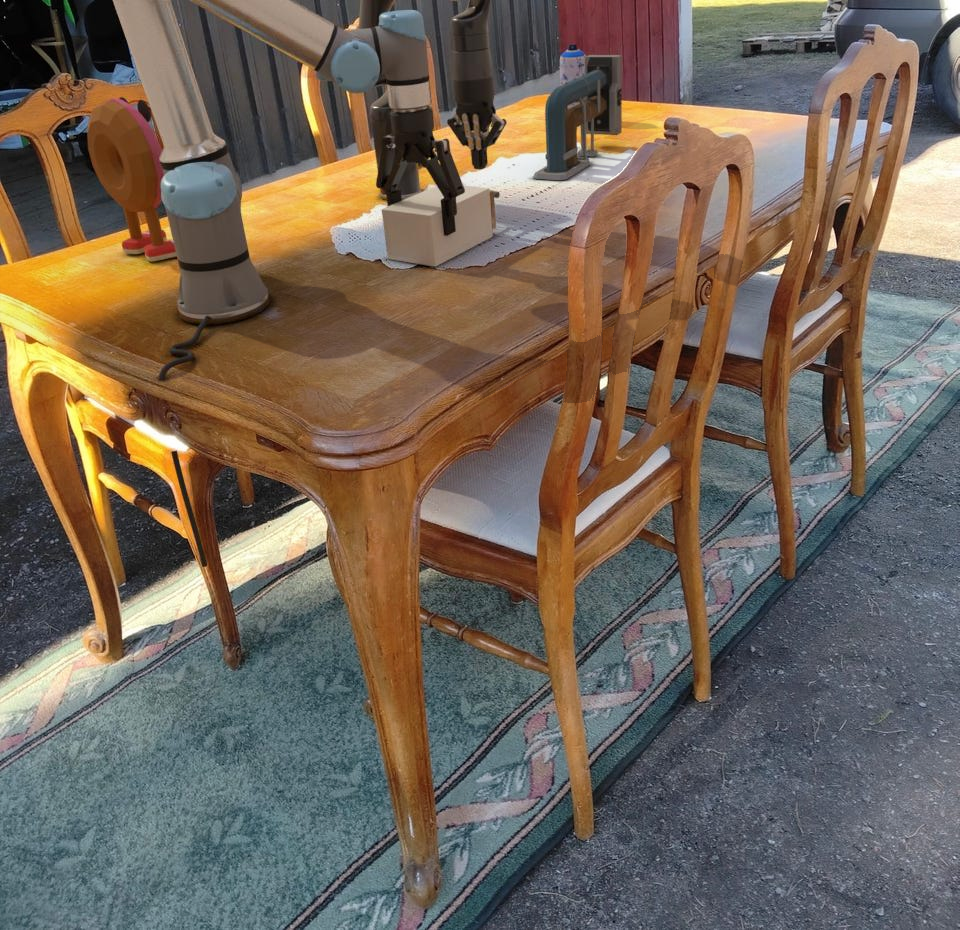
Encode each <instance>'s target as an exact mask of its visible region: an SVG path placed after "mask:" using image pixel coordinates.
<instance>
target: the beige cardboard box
mask: <svg viewBox="0 0 960 930" xmlns="http://www.w3.org/2000/svg"><path fill="white" fill-rule="evenodd" d="M463 186H464V189H465V192H464V193H463V194H461V195H459V196H457V197H456V205H457V215H455V228H456V232H454V233H452V234H450V235H448V236H446V235H444V230H443V220H442V210H441V199H443V198H444V197H443V195H442V193H441V192H440V190H439V188H438V187H437V185H435V186H432V187H430V188H428V189H425V190H423V191H421V193H418V194H416V195H414V196H411V197H409V198H407V199H404V200H402V201H400V202H397V203H395V204H393V205H390V206H388V205H387V206H386V207H383V208H381V217H382V224H383V225H382V226H383V232H384V241H385V248H386V256H387V259H388V260H392V261H399V262H405V263H410V264H417V265H422V266H429V267H433V268H434V267H437V266H440V265H443V264H444V263H446V262H447V261H449V260H451V259H454V258H455V257H457V256H459V255H460V254H462V253H464V252H467V251H468V250H471V249H472V248H474V247H476V246H479V244H481V243H483V242H485V241H488V240H489V239H491V238H493V236H494V233H493V229H492V218H491V203H490V190H491V189H490V188H489V187H482V186H481V187H480V186H471V185H463ZM448 192H449V191H448Z"/></svg>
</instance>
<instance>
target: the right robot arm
mask: <svg viewBox="0 0 960 930" xmlns="http://www.w3.org/2000/svg"><path fill="white" fill-rule="evenodd" d="M395 1H396V0H360V3H359V17H358V18H359V19H358V28H357V29H367V28H373V27H376V26H379V17H380V15H381V14H382V13H385V12H391V9H392V7H393V5H394V4H395ZM449 1H451V2H457V1H458V0H449ZM491 7H492V0H468V3H467V6H466V9H465V10H464V11H463V12H461V13H459V14H456V15H454V16H453V17H452V18H451V19H450V22H449V31H450V43H451V70H452V82H453V95H454V101H455V103H456V108H455V114H454V115H453V116H452V117H450V118H448V119H447V121H446V123H447V125H448V127H449V128H450V130H451V131H452V132H453V134H454V135H455V137H456V138H457V140H458V141H459V143H460V144H461V146H463V147H468V149H469V150H470V157H471V158H470V159H471V165H472V166H473V169H474V170H484V169H486V168H487V166H488V162H489V161H488V160H489V159H488V152H487V151H488V148H490V147H491V146H493V145H495V144H496V143H497V141H498V139H499V137H500V136H501V134H502V132H503V130H504V129H505V127H506V125H507V120H506V119H505V118H500V117H499V115H497V110H496V107H495V104H494V100H495V87H494V74H493V73H494V72H493V59H492V55H491V48H490V35H489V21H490V19H489V18H490V12H491ZM384 86H387V81H386V74H381V75H379V77H378V81H377V82H376V83H375V85H374V86H373V87H372V88H377V87H384ZM392 110H393V109H392V108H390V107H389V100H388V91H387V89H385V92H384V93H383V94H382V95H381V97H379V98H378V99H377V100H375V101H373V102H372V103H371V105H370V107H369V115H370V121H371V128H372V130H371V131H372V137H373V147H374V153H375V161H376V168H377V171H378V169H379V163H380V157H381V152H382V147H381V138H382V137H384V136H387V135H390V134H392V135H393V136H395V133H394V132H393V131H392V125H391V116H390V112H391V111H392ZM490 127H491V128H490ZM398 151H399V150H398V149H397V147H396V146H395V153H394V158H393V164H392V168H393V166H394V163H395V158H396V156H397V153H398ZM420 166H422V164H421V163H415V162H408V164H407V166H406V169H405V171H404V173H403V175H402V177H401V180H400V182H399V184H398V187H399V188H397V189H395V190H401V197H402V200H404V199H407V198H409V197H411V196H414V195H416V194H418V193H421V192H422V188H421V181H420V173H419V172H420V171H419V167H420ZM391 170H392V169H391ZM379 197H380V198H381V199H382V200H386V201H387V197H386V192H385V191H384V190H383V189H382V188H379Z"/></svg>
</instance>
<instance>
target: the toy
mask: <svg viewBox="0 0 960 930" xmlns="http://www.w3.org/2000/svg"><path fill="white" fill-rule="evenodd" d="M151 119H152V112H151V108H150V106H149V105H148V103H147V102H146V101H145V100H144V99H139V100H138V101H137V108H136V107H134V106H133V105H132V104H130V103H129V102H128V100H127V99H126V98H125V97H124V96H121V97H119V98H116V97H112V98H110V99H108V100H106V101H103V102H101V103H100V104H97V105H96V106H94V108H92V110H91V112H90V116H89V118H88V122H87V132H86V134H87V135H86V137H87V150H88V153H89V158H90V161H91V164H92V167H93V170H94V172H95V174H96V176H97V178H98V180H99V182H100V184H101V185H102V186H103V188H104V189H105V191H106V192H107V193H108V195H109V196H110V197H111V198H112V199H113V200H114V201H115V202H116V203H117V204H118V206H121V207H122V209H123V213H124V217H125V220H126V225H127V229H128V232H129V236H130V237H128V238H127V239H124V240H122V242H121V247H122V251H123V253H125V254H129V255H140V254H143V253H144V256H145V258H146V260H147V261H149V262H151V263H153V262H157V261H162V260H167V259H172V258H177V255H176V250H175V246H174V242H173V239H170V240H168V238H167V233H166V231H165V230H164V229H162V225H161V221H160V217H159V214H158V210H157V208H158V207H159V206H160V205H161V204H162V198H161V192H162V191H161V180H162V178H163V176H164V172H163V169H162V166H161V163H160V160H159V157H160V155H161V153H162V150H163V148H162V147H161V144H160V141H159V140H158V137H157V135H156V133H155V131H154V129H153V128H152V126H151V125H150V124H149V122H151ZM138 213H143V214H144V217H145V221H146V224H147V227H148V229H146V230H144V231H142V229H141V224H140V220H139V219H140V218H139V215H138Z"/></svg>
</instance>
